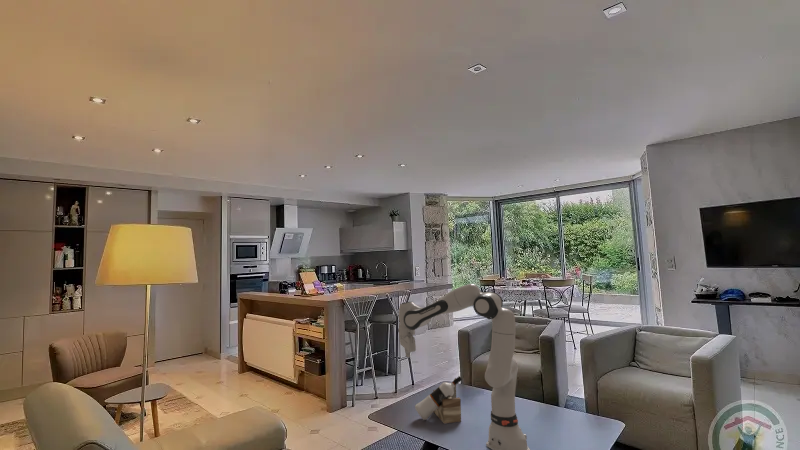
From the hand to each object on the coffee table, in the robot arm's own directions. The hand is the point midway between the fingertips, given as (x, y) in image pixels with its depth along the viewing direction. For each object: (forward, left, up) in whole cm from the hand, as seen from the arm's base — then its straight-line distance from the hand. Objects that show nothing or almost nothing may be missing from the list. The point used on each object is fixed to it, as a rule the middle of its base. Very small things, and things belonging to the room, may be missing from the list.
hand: (407, 356), depth 211 cm
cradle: (0, -22, -35) cm, 41 cm away
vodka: (-1, -6, -31) cm, 32 cm away
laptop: (+20, -28, -35) cm, 49 cm away
